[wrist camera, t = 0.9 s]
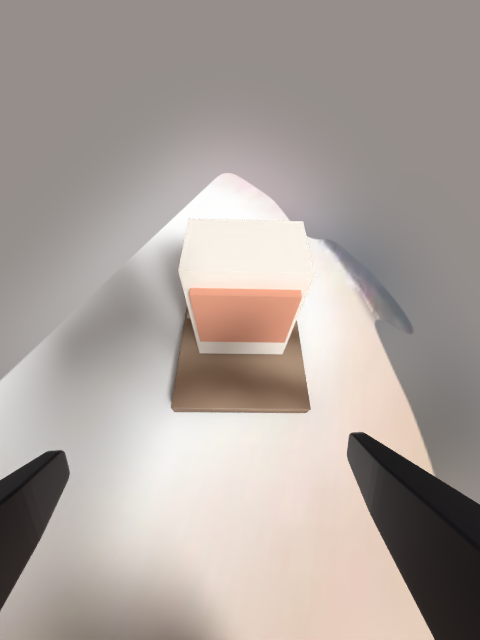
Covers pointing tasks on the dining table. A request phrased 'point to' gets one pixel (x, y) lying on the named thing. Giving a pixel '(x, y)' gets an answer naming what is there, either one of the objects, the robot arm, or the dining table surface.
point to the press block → (244, 283)
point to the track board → (239, 379)
